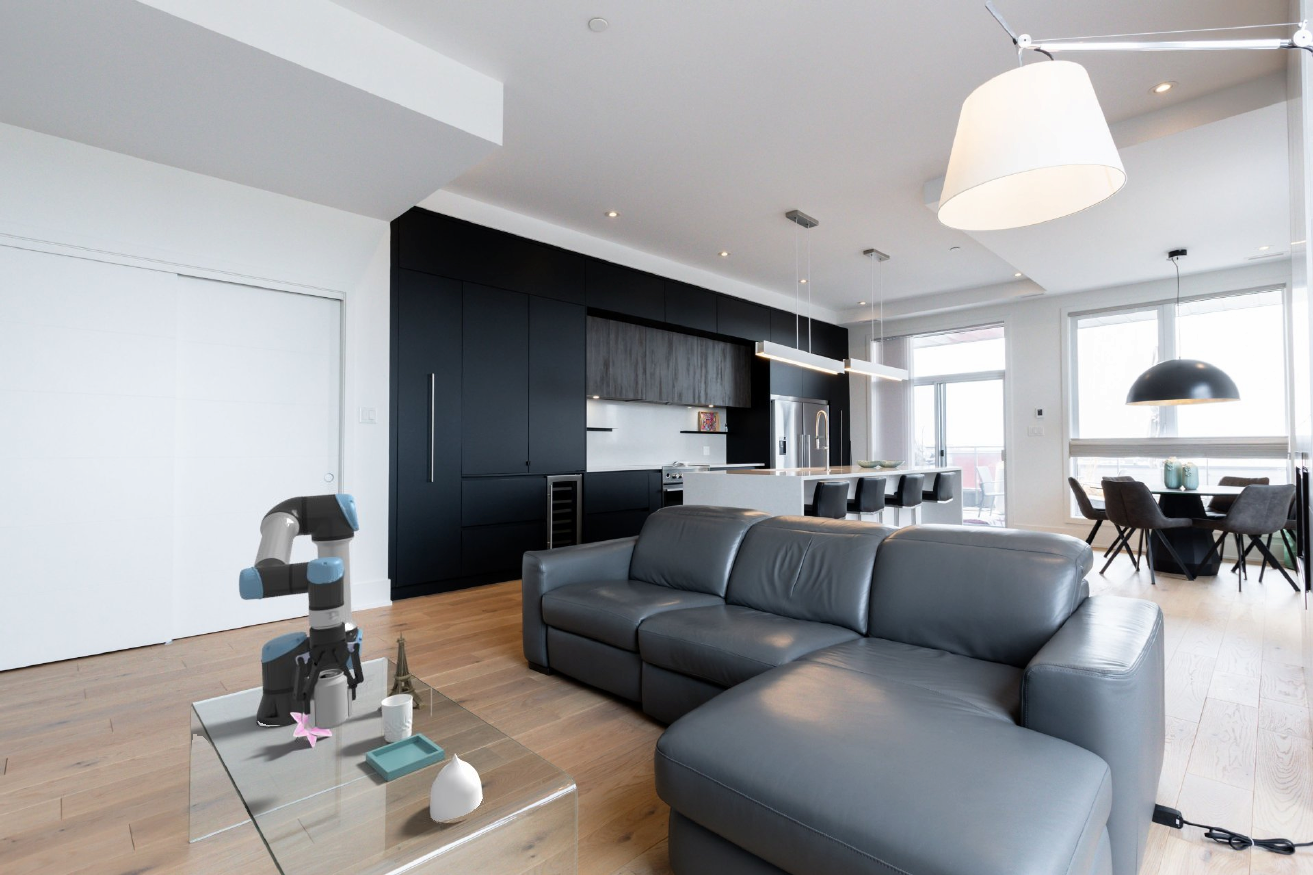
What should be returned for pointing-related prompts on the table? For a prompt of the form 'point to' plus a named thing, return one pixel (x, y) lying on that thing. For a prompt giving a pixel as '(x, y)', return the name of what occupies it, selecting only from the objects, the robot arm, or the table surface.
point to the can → (330, 699)
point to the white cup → (397, 717)
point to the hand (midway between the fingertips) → (330, 720)
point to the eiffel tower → (404, 677)
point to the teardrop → (455, 791)
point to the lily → (307, 729)
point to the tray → (404, 756)
